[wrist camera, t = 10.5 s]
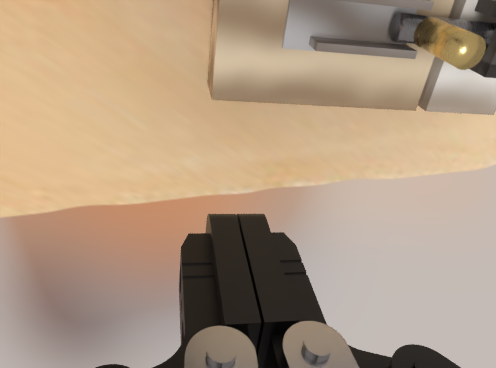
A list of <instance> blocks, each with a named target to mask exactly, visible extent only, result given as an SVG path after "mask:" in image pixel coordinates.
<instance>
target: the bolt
mask: <svg viewBox="0 0 496 368" xmlns="http://www.w3.org/2000/svg"><path fill="white" fill-rule="evenodd" d="M495 28H496V23H491V22H482V21H472V20H463V19H453V18H444V17H434V16H425V15H415V14H406V13H398V14H396V15H395V17H394V18H393V20H392V23H391V26H390V38H391V40H392V41H393V42H403V43H414V44H416V45H417V46H418V47H420V48H421V49H423V50H425V51H427V52H429V53H430V54H432V55H434V56H436V57H438V58H440V59H441V60H443V61H445V62H447V63H449V64H451V65H452V66H454V67H456V68H458V69H460V70H467V69H470V68H472V67H474V66H475V65H476V64H478V63H479V61H480V60H481V59H482V57H483V56H484V53H485V50H487V48H488V45H489V43H490V40H491V38H492V36H493V33H494V31H495Z"/></svg>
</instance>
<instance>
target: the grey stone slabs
mask: <svg viewBox="0 0 496 368" xmlns="http://www.w3.org/2000/svg"><path fill="white" fill-rule="evenodd" d="M398 13H406V14H415V15H425V16H434V17H444V18H453V19H463V20H472V21H482V22H491V23H496V0H213V13H212V27H211V41H210V55H209V69H208V86H209V90H210V95H211V99H212V100H226V101H245V102H264V103H282V104H301V105H319V106H338V107H357V108H375V109H394V110H413V111H416V108H417V105H418V106H420V107H421V108H422V109H423V110H425V111H431V112H450V113H468V114H487V115H494V113H495V111H496V28H495V31H494V33H493V36H492V38H491V40H490V43H489V45H488V48H487V50H485V53H484V56H483V57H482V59H481V60H480V61H479V63H478V64H476V65H475V66H474V67H472V68H470V69H467V70H460V69H458V68H456V67H454V66H452V65H451V64H449V63H447V62H445V61H443V60H441V59H440V58H438V57H436V56H434V55H432V54H430V53H429V52H427V51H425V50H423V49H421V48H420V47H418V46H417V45H416V44H414V43H403V42H393V41H392V40H391V38H390V26H391V23H392V20H393V18H394V17H395V15H396V14H398Z"/></svg>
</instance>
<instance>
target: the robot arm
mask: <svg viewBox="0 0 496 368" xmlns="http://www.w3.org/2000/svg"><path fill="white" fill-rule="evenodd" d="M180 260H181V261H180V281H179V300H180V301H179V302H180V329H181V346H180V348H179V349H178V350H177V352H176V353H175V354H174V355H173V356H172V357H171V358H169V359H168V360H167V361H165V362H164V363H162V364H160V365H158V366H155V367H153V368H460V367H459V366H458V365H456V364H455V363H453V362H451V361H450V360H449V359H447V358H446V357H444V356H442V355H441V354H439V353H438V352H436V351H434V350H432V349H430V348H427V347H424V346H420V345H405V346H402V347H400V348H399V349H397V350H396V352H395V353H394V355H393V356H392V358H391V357H387V356H383V355H379V354H374V353H370V352H366V351H362V350H358V349H356V348H353V347H351V346H349V345H348V344H347V343H346V341H345V339H344V338H343V337H342V336H341V335H340V334H339V333H338V332H337V331H336V330H335V329H333V328H332V327H330V326H328V325H327V324H326V321H325V319H324V317H323V314H322V311H321V309H320V306H319V304H318V301H317V298H316V296H315V293H314V291H313V288H312V286H311V283H310V281H309V278H308V276H307V275H306V270H305V268H304V265H303V263H302V262H301V257H300V255H299V252H298V250H297V247H296V245H295V244H294V243H293V242H292V241H291V240H290V239H289V238H288V237H287V236H286V235H285V234H284V233H271V232H270V228H269V225H268V222H267V219H266V217H265V215H264V214H237V215H236V214H208V216H207V224H206V233H204V234H188V236H187V238H186V239H185V241H184V243H183V245H182V246H181V259H180ZM96 368H129V367H127V366H123V365H117V364H110V365H103V366H99V367H96Z"/></svg>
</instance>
